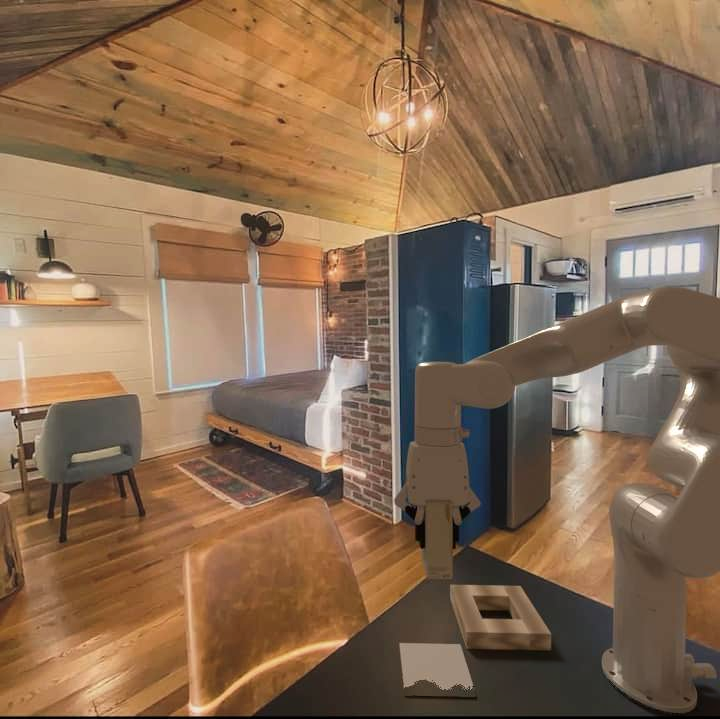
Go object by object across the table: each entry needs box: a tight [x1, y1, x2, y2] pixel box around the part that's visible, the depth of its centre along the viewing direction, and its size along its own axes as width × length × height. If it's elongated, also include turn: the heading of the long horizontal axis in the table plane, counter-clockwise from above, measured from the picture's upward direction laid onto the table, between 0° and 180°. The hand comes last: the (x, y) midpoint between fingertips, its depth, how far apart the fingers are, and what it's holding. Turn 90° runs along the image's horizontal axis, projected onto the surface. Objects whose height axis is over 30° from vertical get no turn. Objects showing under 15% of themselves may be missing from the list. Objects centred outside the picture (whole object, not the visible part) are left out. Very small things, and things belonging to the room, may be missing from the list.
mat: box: [398, 642, 475, 690], centre depth 69 cm, size 11×11×1 cm
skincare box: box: [421, 502, 454, 580], centre depth 68 cm, size 6×4×12 cm
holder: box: [449, 584, 552, 651], centre depth 81 cm, size 15×15×3 cm
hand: (436, 544), depth 68 cm, fingers closed on skincare box, 4 cm apart
